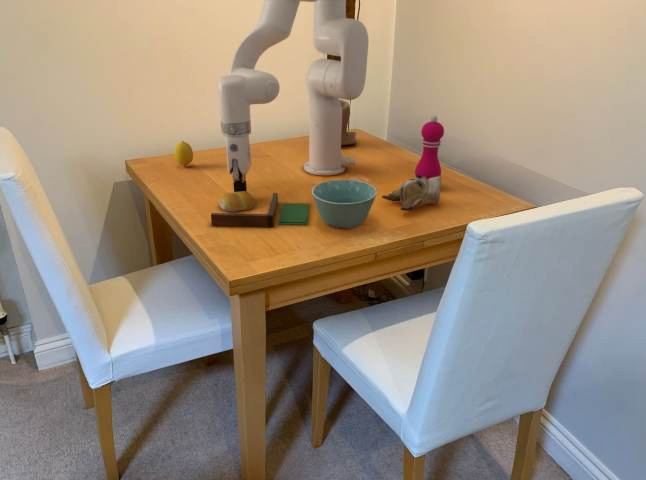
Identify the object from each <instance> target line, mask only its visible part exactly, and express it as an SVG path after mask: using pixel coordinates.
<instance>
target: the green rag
mask: <svg viewBox="0 0 646 480" xmlns="http://www.w3.org/2000/svg"><path fill="white" fill-rule="evenodd" d="M309 206H310V204H309V203H289V202H288V203H287V202H286V203H285V202H283V203H281V209H280V213H279V218H278V224H277V225H279V226H282V225H283V226H307V225H308V219H309V218H308V217H309Z"/></svg>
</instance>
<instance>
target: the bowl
mask: <svg viewBox="0 0 646 480" xmlns="http://www.w3.org/2000/svg"><path fill="white" fill-rule="evenodd" d="M311 194H312V197H313V201H314V204H315V207H316V209H317V212H318V215H319V217H320V219H321V221H322V222H324V224H326V225H328V226H329V227H332V228H335V229H340V230H347V229H348V230H349V229H354V228H356V227H359V226H360V225H361V224H363V223H364V222H365V221H366V220H367V218H368V216H369V213H370V211H371V209H372V207H373V204H374V202H375V199H376V197H377V194H378V191H377V189H376V187H375V186H373V185H372V184H370V183H368V182H365V181H361V180H356V179H331V180H330V179H329V180H325V181H322V182H319V183H317V184H315V185H314V186H313V187H312V189H311Z"/></svg>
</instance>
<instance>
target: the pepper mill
mask: <svg viewBox="0 0 646 480" xmlns="http://www.w3.org/2000/svg"><path fill="white" fill-rule="evenodd" d="M420 134H421V136H422V138H423V139H422V141H421V145H422V154H421V157H420V159H419V160H418V162H417V164H416V166H415V169H414V176H415V177H416V176H417V175H421V176H424V177H425V178H426V179H427V180H428V179H430V178H433V177H438V176H441V177H442V168H441V163H440V160H439V156H438V155H439V154H438V153H439V147H441V143H442V140H441V139H442V138H443V137H444V134H445V128H444V126H443V125H442V123H440V122H439V121H438V116H436V115H433V116H430V121H428V122H426V123H424V124H423V126H422V128H421V131H420Z"/></svg>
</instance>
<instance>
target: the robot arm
mask: <svg viewBox="0 0 646 480" xmlns="http://www.w3.org/2000/svg"><path fill="white" fill-rule="evenodd" d="M301 2H305V3H313V28H312V40H313V41H312V42H313V47H314V48H315V50H316V51H317V52H319V53H321V54H324V55H329V56H335V57H340V60H336V59H330V58H319V59H316V60H313V62H311V63H310V65H309V66H308V68H307V70H306V73H305V74H306V75H305V81H306V87H307V93H308V102H309V103H308V104H309V117H308V118H309V120H308V121H309V128H308V129H309V132H308V138H309V139H308V161H306V162H305V163H304V164H303V170H304V171H305V172H306V173H308V174H311V175H315V176H324V177H327V176H336V175H339V174H342V173H344V172H345V171H346V165H347V166H356V160H357V159H356V158H352V156H344V155H342V154H343V153H342V145H341V130H342V107H341V103H340V100H344V101H353V100H356V99H359V97H360V96H361V94H362V93H363V91H364V89H365V85H366V79H367V78H366V77H367V68H368V67H367V66H368V56H369V55H368V54H369V33H368V30H367V27H366V26H365V24H364V23H363V22H362V21H361V20H359V19H356V18H349V17H348V18H347V15H346V12H347V9H346V7H347V0H263V3H262V7H261V10H260V13H259V16H258V19H257V23H256V24H255V26H254V27H253V28H252V29H251V30H250V31H249V32H248V33H247V35H246V36H245V37H244V39H242V41H241V42H240V43H239V45H238V46H237V48H236V50H235V51H234V55H233V58H232V62H231V65H230V69H229V72H228V74H227V75H223V76H220V77H219V79H218V80H217V92H218V93H217V94H218V105H219V117H220V130H221V135H222V136H224V137H225V147H226V148H225V149H226V164H227V172H228V174H229V175H232V180H233V181H232V183H233V185H232V186H233V193H235V192H240V191H246V192H248V189H247V188H248V187H247V180H246V177H247V174H248V173H249V171H250V169H251V166H252V154H251V153H252V152H251V144H250V143H251V142H250V135H251V134H252V124H251V123H252V120H251V105H266V104H269V103H271V102H273V101H275V100H276V98H277V97H278V95H279V93H280V89H281V88H280V82H279V80H278V79H277V77H276V76H274V74H271V73H270V72H267V71H261V70H256V69H255V68H256V65H257V63H258V61H259V59H260V58H261V56H262V55H263V54H264V53H265V52H266V51H267V50H268V49H270V48H272V47H274V46H275V45H277V44H279V43H281V42H283V41H285V40H287V39H288V38H289V37H290V36H291V34H292V29H293V27H294V22H295V19H296V17H297V13H298V9H299V7H300V4H301ZM339 99H340V100H339Z"/></svg>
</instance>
